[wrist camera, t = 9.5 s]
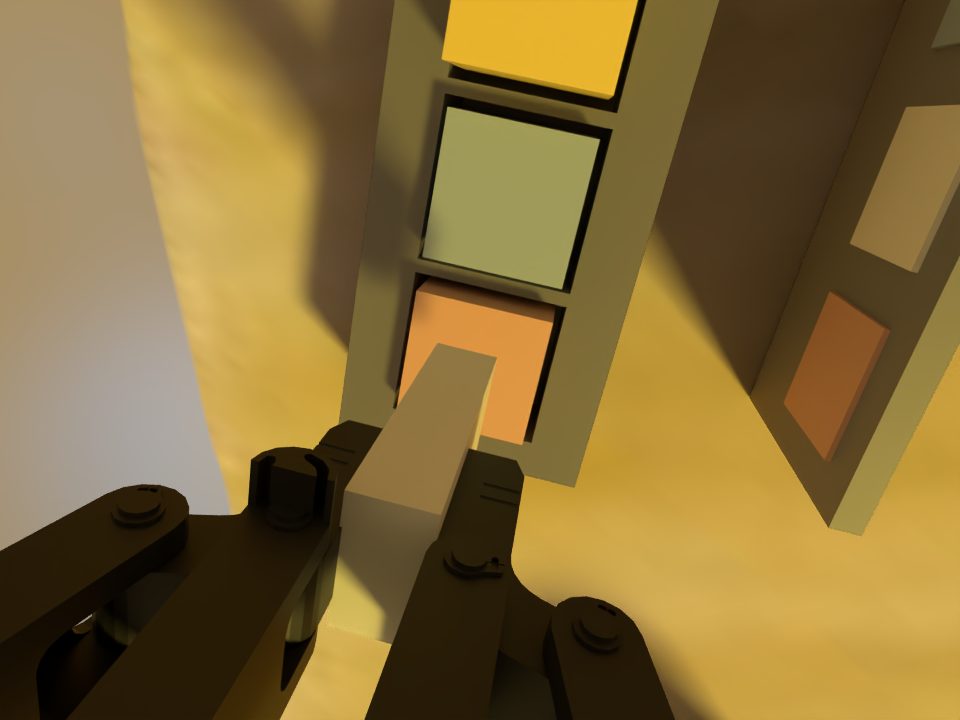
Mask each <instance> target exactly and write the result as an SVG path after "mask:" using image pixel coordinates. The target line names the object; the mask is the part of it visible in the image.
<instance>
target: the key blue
mask: <svg viewBox="0 0 960 720" xmlns="http://www.w3.org/2000/svg"><path fill="white" fill-rule="evenodd" d="M599 141H600V139H599V138H598V137H597V136H592V135H587V134H583V133H578V132H574V131H569V130H564V129H560V128H555V127H550V126H546V125H541V124H537V123H532V122H527V121H523V120H518V119H513V118H509V117H504V116H500V115H495V114H490V113H486V112H481V111H476V110H472V109H465V108H455V107H447V113H446V119H445V125H444V131H443V137H442V143H441V149H440V155H439V161H438V167H437V172H436V178H435V184H434V190H433V196H432V202H431V208H430V214H429V220H428V226H427V232H426V238H425V244H424V250H423V256H422V257H425V258H429V259H434V260H438V261H442V262H447V263H451V264H455V265H459V266H464V267H468V268H472V269H477V270H481V271H485V272H490V273H494V274H498V275H502V276H507V277H511V278H515V279H520V280H524V281H528V282H533V283H537V284H541V285H545V286H550V287H554V288H558V289H562V287H563V283H564V279H565V275H566V271H567V267H568V263H569V259H570V255H571V251H572V247H573V243H574V239H575V235H576V232H577V228H578V224H579V220H580V216H581V212H582V208H583V204H584V200H585V196H586V192H587V188H588V184H589V181H590V177H591V173H592V169H593V165H594V161H595V157H596V153H597V149H598V145H599Z"/></svg>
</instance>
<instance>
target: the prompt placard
mask: <svg viewBox="0 0 960 720" xmlns="http://www.w3.org/2000/svg"><path fill="white" fill-rule="evenodd" d="M959 344H960V0H905V2H904V4H903V7H902V9H901V12H900V15H899V17H898V20H897V22H896V25H895V27H894V30H893V32H892V35H891V38H890V40H889V43H888V45H887V48H886V50H885V53H884V55H883V58H882V61H881V63H880V66H879V68H878V71H877V73H876V76H875V78H874V81H873V83H872V86H871V89H870V91H869V94H868V96H867V99H866V101H865V104H864V106H863V109H862V112H861V114H860V117H859V119H858V122H857V124H856V127H855V129H854V132H853V135H852V137H851V140H850V142H849V145H848V147H847V150H846V152H845V155H844V158H843V160H842V163H841V165H840V168H839V170H838V173H837V175H836V178H835V180H834V183H833V186H832V188H831V191H830V193H829V196H828V198H827V201H826V203H825V206H824V209H823V211H822V214H821V216H820V219H819V221H818V224H817V226H816V229H815V232H814V234H813V237H812V239H811V242H810V244H809V247H808V249H807V252H806V255H805V257H804V260H803V262H802V265H801V267H800V270H799V272H798V275H797V277H796V280H795V283H794V285H793V288H792V290H791V293H790V295H789V298H788V300H787V303H786V306H785V308H784V311H783V313H782V316H781V318H780V321H779V323H778V326H777V329H776V331H775V334H774V336H773V339H772V341H771V344H770V346H769V349H768V352H767V354H766V357H765V359H764V362H763V364H762V367H761V369H760V372H759V374H758V377H757V380H756V382H755V385H754V387H753V390H752V392H751V395H750V397H749V398H750V399H751V401H752V403H753V404H754V406H755V408H756V409H757V411H758V412H759V414H760V416H761V417H762V419H763V421H764V422H765V424H766V426H767V427H768V429H769V431H770V432H771V434H772V436H773V437H774V439H775V440H776V442H777V444H778V445H779V447H780V449H781V450H782V452H783V454H784V455H785V457H786V459H787V460H788V462H789V464H790V465H791V467H792V468H793V470H794V472H795V473H796V475H797V477H798V478H799V480H800V482H801V483H802V485H803V487H804V488H805V490H806V492H807V493H808V495H809V496H810V498H811V500H812V501H813V503H814V505H815V506H816V508H817V510H818V511H819V513H820V515H821V516H822V518H823V520H824V521H825V523H826V524H827V526H828V528H831V529H835V530H839V531H843V532H847V533H851V534H855V535H859V536H862V535H863V533H864V531H865V529H866V527H867V525H868V523H869V521H870V519H871V517H872V515H873V513H874V511H875V509H876V507H877V505H878V503H879V501H880V499H881V497H882V495H883V493H884V491H885V489H886V487H887V485H888V483H889V481H890V479H891V477H892V475H893V474H894V472H895V470H896V468H897V466H898V464H899V462H900V460H901V458H902V456H903V454H904V452H905V450H906V448H907V446H908V444H909V442H910V440H911V438H912V436H913V434H914V432H915V430H916V428H917V426H918V424H919V422H920V420H921V418H922V416H923V414H924V413H925V411H926V409H927V407H928V405H929V403H930V401H931V399H932V397H933V395H934V393H935V391H936V389H937V387H938V385H939V383H940V381H941V379H942V377H943V375H944V373H945V371H946V369H947V367H948V365H949V363H950V361H951V359H952V357H953V355H954V353H955V352H956V350H957V348H958V346H959Z"/></svg>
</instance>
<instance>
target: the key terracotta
mask: <svg viewBox="0 0 960 720" xmlns="http://www.w3.org/2000/svg"><path fill="white" fill-rule="evenodd" d="M555 307H556V305H555V304H551V303H546V302H542V301H538V300H534V299H529V298H525V297H521V296H517V295H512V294H508V293H504V292H499V291H495V290H491V289H487V288H482V287H478V286H474V285H470V284H465V283H461V282H457V281H453V280H448V279H444V278H440V277H435V276H430V277H429V278H428V279H427V280H426V281H425V283H424V284H423V285H422V286H421V287H420V288H419V289H418V290H417V291H416V297H415V303H414V309H413V315H412V321H411V327H410V333H409V339H408V345H407V351H406V356H405V362H404V368H403V374H402V380H401V386H400V392H399V398H398V404H399V403H400V401H401V400H402V398H403V397H404V395H405V393H406V392H407V390H408V389H409V387H410V386H411V384H412V382H413V381H414V379H415V378H416V376H417V374H418V373H419V371H420V370H421V368H422V367H423V365H424V363H425V362H426V360H427V359H428V357H429V356H430V354H431V352H432V351H433V349H434V348H435V346H436V344H437V343H440V344H444V345H448V346H452V347H457V348H461V349H465V350H469V351H473V352H477V353H481V354H485V355H490V356H494V357H497V361H496V366H495V370H494V375H493V379H492V384H491V388H490V392H489V397H488V401H487V406H486V410H485V415H484V419H483V424H482V428H481V433H480V435H483V436H487V437H491V438H495V439H499V440H503V441H507V442H511V443H515V444H519V445H522V444H523V440H524V436H525V432H526V428H527V424H528V420H529V416H530V412H531V408H532V404H533V400H534V397H535V393H536V389H537V385H538V381H539V377H540V373H541V369H542V365H543V361H544V357H545V353H546V349H547V345H548V342H549V338H550V334H551V330H552V326H553V321H554V314H555ZM398 404H397V406H398Z"/></svg>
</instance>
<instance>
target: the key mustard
mask: <svg viewBox="0 0 960 720" xmlns="http://www.w3.org/2000/svg"><path fill="white" fill-rule="evenodd" d="M637 2H638V0H451V4H450V10H449V16H448V22H447V28H446V35H445V41H444V47H443V53H442V60H444V61H447V62H449V63H451V64H454V65H456V66H458V67H460V68H463V69H465V70H468V71H473V72H477V73H482V74H487V75H491V76H496V77H501V78H506V79H510V80H515V81H520V82H524V83H529V84H534V85H539V86H543V87H548V88H553V89H557V90H562V91H567V92H572V93H576V94H581V95H586V96H590V97H595V98H600V99H604V100H609V99H610V98H611V97H612V96H614V92H615V88H616V84H617V80H618V76H619V72H620V69H621V65H622V61H623V57H624V53H625V49H626V45H627V41H628V37H629V33H630V30H631V26H632V22H633V18H634V14H635V10H636V6H637Z"/></svg>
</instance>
